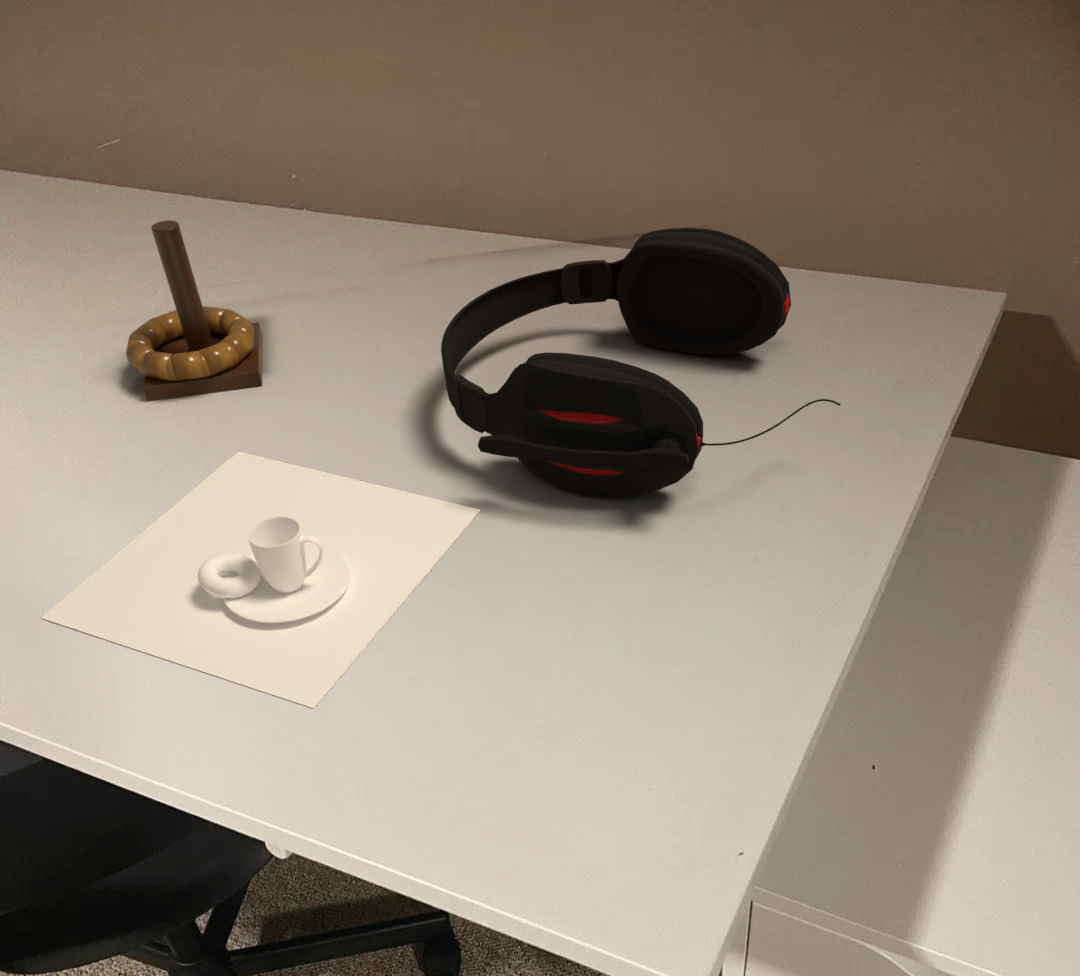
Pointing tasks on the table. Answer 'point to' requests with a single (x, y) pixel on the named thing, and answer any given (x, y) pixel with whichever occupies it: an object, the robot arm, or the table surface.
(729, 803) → the table surface
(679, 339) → the headset
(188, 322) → the rack
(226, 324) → the ring
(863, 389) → the table surface
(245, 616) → the teacup and saucer
